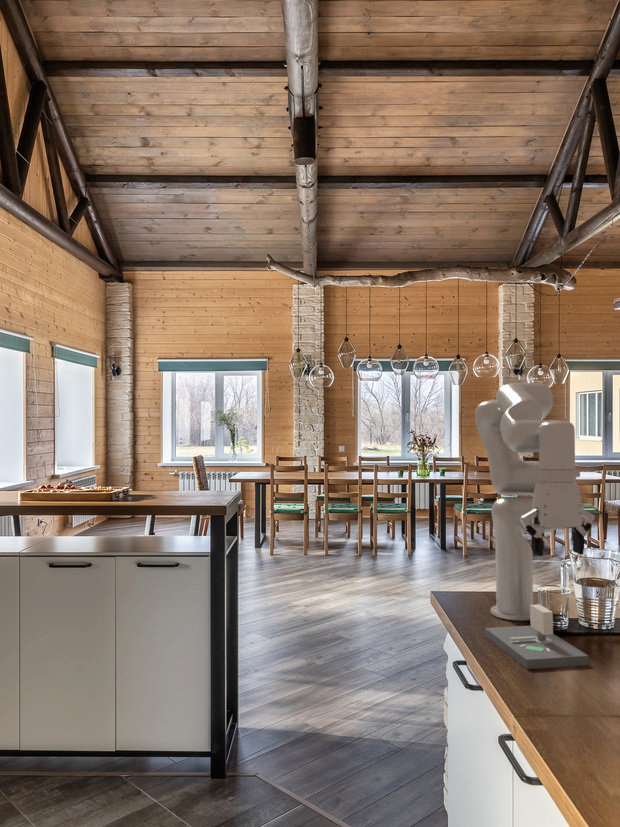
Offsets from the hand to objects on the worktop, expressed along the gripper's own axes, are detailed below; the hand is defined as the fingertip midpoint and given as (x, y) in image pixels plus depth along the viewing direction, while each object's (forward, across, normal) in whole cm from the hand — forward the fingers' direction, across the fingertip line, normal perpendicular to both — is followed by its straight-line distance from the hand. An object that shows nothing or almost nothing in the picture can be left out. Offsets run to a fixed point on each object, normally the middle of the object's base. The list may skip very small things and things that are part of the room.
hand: (558, 553), depth 149 cm
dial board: (+23, +4, -5) cm, 24 cm away
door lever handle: (+20, +5, -5) cm, 21 cm away
